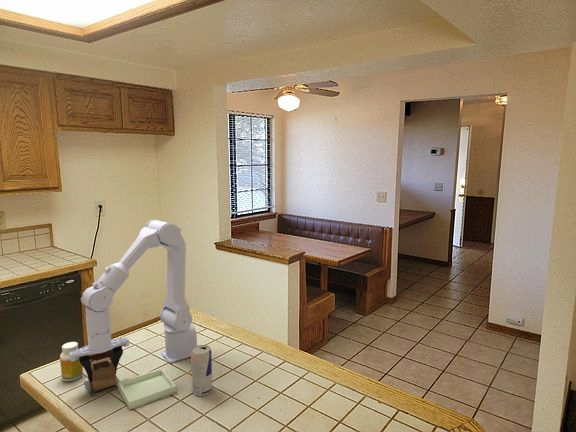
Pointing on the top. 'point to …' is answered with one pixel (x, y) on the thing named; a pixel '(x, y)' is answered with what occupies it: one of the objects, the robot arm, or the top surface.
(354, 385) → the top surface
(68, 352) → the supplement bottle
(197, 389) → the energy drink
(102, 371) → the brown wooden box
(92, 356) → the potato
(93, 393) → the light stand
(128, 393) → the tray
